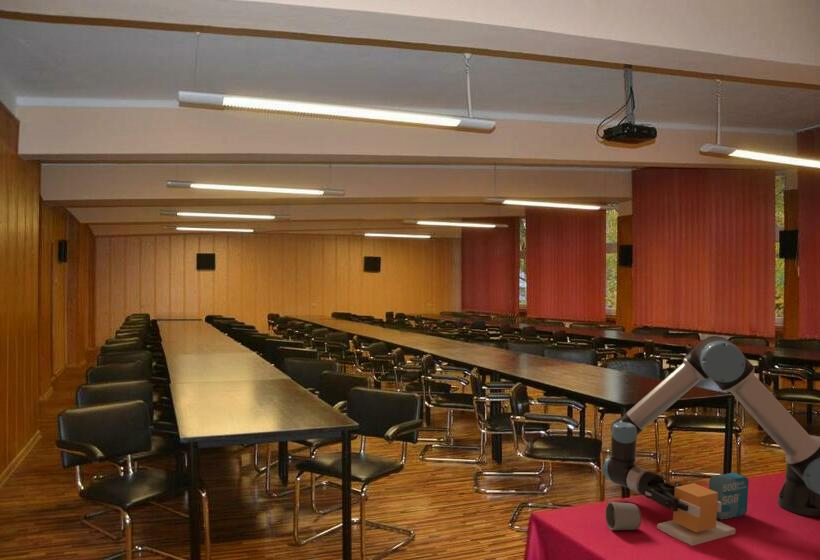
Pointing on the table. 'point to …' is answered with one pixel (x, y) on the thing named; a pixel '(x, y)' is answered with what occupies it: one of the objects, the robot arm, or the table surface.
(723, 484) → the data package
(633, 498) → the table surface
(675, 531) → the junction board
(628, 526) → the ceramic mug
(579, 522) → the table surface
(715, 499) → the tall orange block
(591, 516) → the table surface
